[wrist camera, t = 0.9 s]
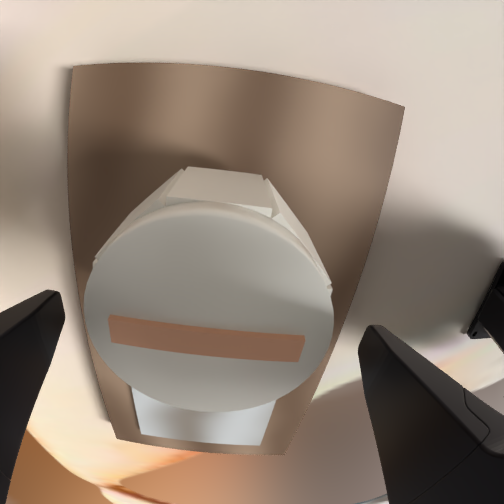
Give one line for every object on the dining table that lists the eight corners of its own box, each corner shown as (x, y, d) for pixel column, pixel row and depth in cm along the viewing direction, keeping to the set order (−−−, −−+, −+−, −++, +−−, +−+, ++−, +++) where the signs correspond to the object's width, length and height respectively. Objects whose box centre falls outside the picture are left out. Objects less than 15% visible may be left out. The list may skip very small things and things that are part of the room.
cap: (320, 183, 11) (370, 239, 7) (284, 332, 14) (300, 420, 10) (130, 161, 10) (66, 205, 6) (133, 316, 13) (102, 400, 9)
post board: (390, 105, 13) (490, 121, 6) (282, 440, 24) (291, 510, 18) (88, 68, 11) (-11, 60, 5) (120, 425, 23) (104, 493, 16)
